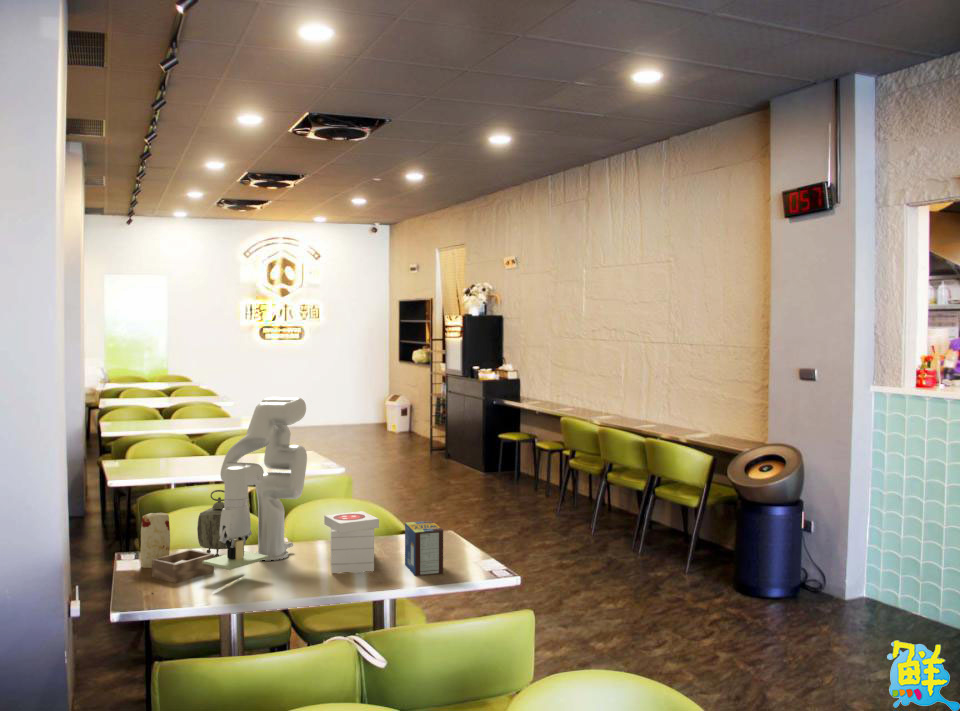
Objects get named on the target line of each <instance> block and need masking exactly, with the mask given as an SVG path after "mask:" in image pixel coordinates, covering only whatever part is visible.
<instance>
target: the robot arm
mask: <svg viewBox="0 0 960 711" xmlns="http://www.w3.org/2000/svg"><path fill="white" fill-rule="evenodd" d="M306 412H307V404H306V402H305V399H303V398H301V397H292V396H291V397H283V396H282V397H281V396H271V397H270V396H269V397H265V398H263V399H262V400H261V402H260V403H258V404H257V405H256V407H255V408H254V411H253V415H252V417H251V420H250V422H249V424H248V429H247V431H246V434H245V436H243V437H242V438H240V439H239V440H238V441H237V442H235V443H234V444H233V445H232V446H231V447H230V448H229V449H228V450H227V452H226V454H225V457H224V460H223V462H222V465H221V467H220V468H221V469H220V479H221V481H222V482H223V483H224V491H225V493H224V498H223V499H224V501H223V502H224V508H223V509H222V513H221V519H220V532H219V533H220V540H219V541H220V542H222V543H224V544H225V545H226V547H228V549H226V550H227V558H228V559H233V560H234V559H235V547H234V541H235V538H237V539H238V540H243V557H244V551H245V545H246V543H247V540H248V539H249V538H250V537H251V535H253V534H252V531H251V530H252V529H251V525H252V524H251V513H250V508H249V505H248V502H249V501H250V498H249V495H248V493H249V490H248V488H249V486H255V490H256V491H255V493H256V498H257V508H258V510H257V521H258V522H257V524H258V526H257V527H258V528H257V531H258V532H257V537H258V539H257V540H258V541H257V544H258V545H257V547H258V548H257V549H258V550H257V552H255V553H257V554H262V555H267V556H268V558H267V559H263V560H265V561H266V562H270V561H271V560H274V561H279V559H280V560H283V558H284V559H287V558H288V557H289V551H287V549H289V548H292V547H294V543H293V542H292V541H289V542H285V508H284V505H283V503H282V501H281V500H282V499H284V500H285V499H286V500H296V499H297V500H298V499H299V498H300V497H301V496H302V494H303V491H304V486H305V478H306V471H307V463H308V454H307V449H306V448H305V447H304V446H303V445H300V444H291V443H290V441H291V434H292V433H291V430H290V428H289V426H291V425H294V424H296V423H298V422H300V421H301V420H302V419H304V418H305V415H306ZM263 448H265V451H264V457H263V458H264V459H263V461H264V463H263V464H264V466H265V468H267V469H270V470H275V471H276V470H279V471H282V470H284V471H290V472H275V471H274V472H267V471H266V472H264V469H263V467H262V465H260V464H258V463H254V462H238V461H239V460H240V459H242V458H243V457H244V456H246V455H248V454H251V453H253V452H255V451H259V450H261V449H263ZM280 499H281V500H280ZM230 540H231V542H230ZM271 562H272V561H271Z"/></svg>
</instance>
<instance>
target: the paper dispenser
mask: <svg viewBox="0 0 960 711" xmlns="http://www.w3.org/2000/svg"><path fill="white" fill-rule="evenodd" d="M323 518H324V520H323V521H324V525H325V526H326V527H329V528H330V572H331V573H337V574H340V573H339V572H360V573H364V572H363V571H374V572H375V529H379V528H380V518H378V517H375V516H374V515H371V514H370V513H367V512H365V511H363V510H362V511H361V510H359V511H351V512H344V513H343V512H342V513H336V514H325V515H324V516H323Z"/></svg>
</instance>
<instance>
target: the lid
mask: <svg viewBox="0 0 960 711" xmlns="http://www.w3.org/2000/svg"><path fill="white" fill-rule="evenodd" d="M230 542H231V540H230ZM234 547H235V559H234V560H233V559H228V558H227V554H224V555H219V557H215V556H214V558H212V559H208V560H204V561H202V563H203V564H207V565H212V566H214V568H220V569H224V570H229V571H231V570H234V569H237V568H238V569H239V568H241V567H246V566H247V565H251V564H255V563H258V562H260V561H262V560H263V559H267V558H268V556H267V555H262V554H257V553H256V552H253V551H252V552H251V551H246V550H244V557H243V540H238V539H235V541H234Z"/></svg>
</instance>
